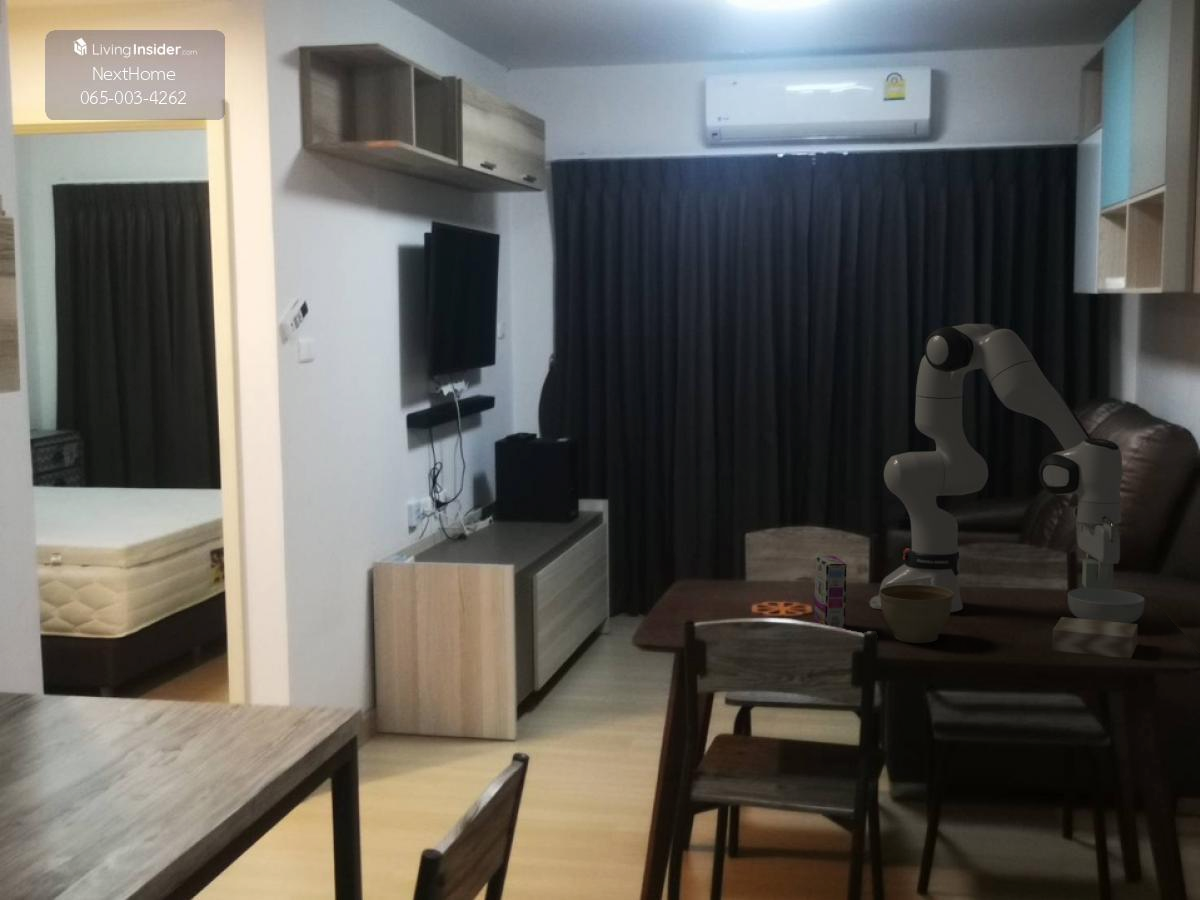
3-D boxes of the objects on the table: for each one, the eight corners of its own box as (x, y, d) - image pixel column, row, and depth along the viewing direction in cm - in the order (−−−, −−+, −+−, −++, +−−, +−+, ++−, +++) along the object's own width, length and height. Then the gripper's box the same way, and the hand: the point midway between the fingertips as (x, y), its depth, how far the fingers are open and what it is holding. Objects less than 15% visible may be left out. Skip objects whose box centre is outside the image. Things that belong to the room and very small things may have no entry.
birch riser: (1052, 652, 292) (1052, 629, 291) (1061, 638, 303) (1061, 617, 303) (1130, 660, 285) (1131, 637, 284) (1136, 646, 296) (1137, 624, 295)
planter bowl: (885, 627, 313) (885, 582, 312) (956, 633, 307) (957, 586, 306) (873, 644, 298) (873, 596, 297) (947, 650, 292) (948, 601, 291)
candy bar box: (846, 634, 307) (847, 563, 305) (825, 635, 307) (825, 564, 305) (834, 622, 318) (834, 554, 316) (813, 623, 318) (813, 555, 316)
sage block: (1085, 588, 290) (1086, 563, 290) (1082, 583, 295) (1082, 558, 295) (1112, 589, 289) (1113, 564, 288) (1108, 584, 294) (1109, 559, 294)
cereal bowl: (1079, 633, 307) (1079, 602, 306) (1057, 616, 323) (1058, 587, 322) (1154, 633, 306) (1155, 603, 305) (1129, 616, 322) (1130, 587, 322)
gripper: (1128, 521, 280) (1126, 586, 281) (1100, 507, 300) (1099, 568, 302) (1097, 521, 281) (1095, 586, 282) (1072, 507, 301) (1070, 567, 302)
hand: (1097, 576), depth 292 cm, fingers closed on sage block, 6 cm apart
